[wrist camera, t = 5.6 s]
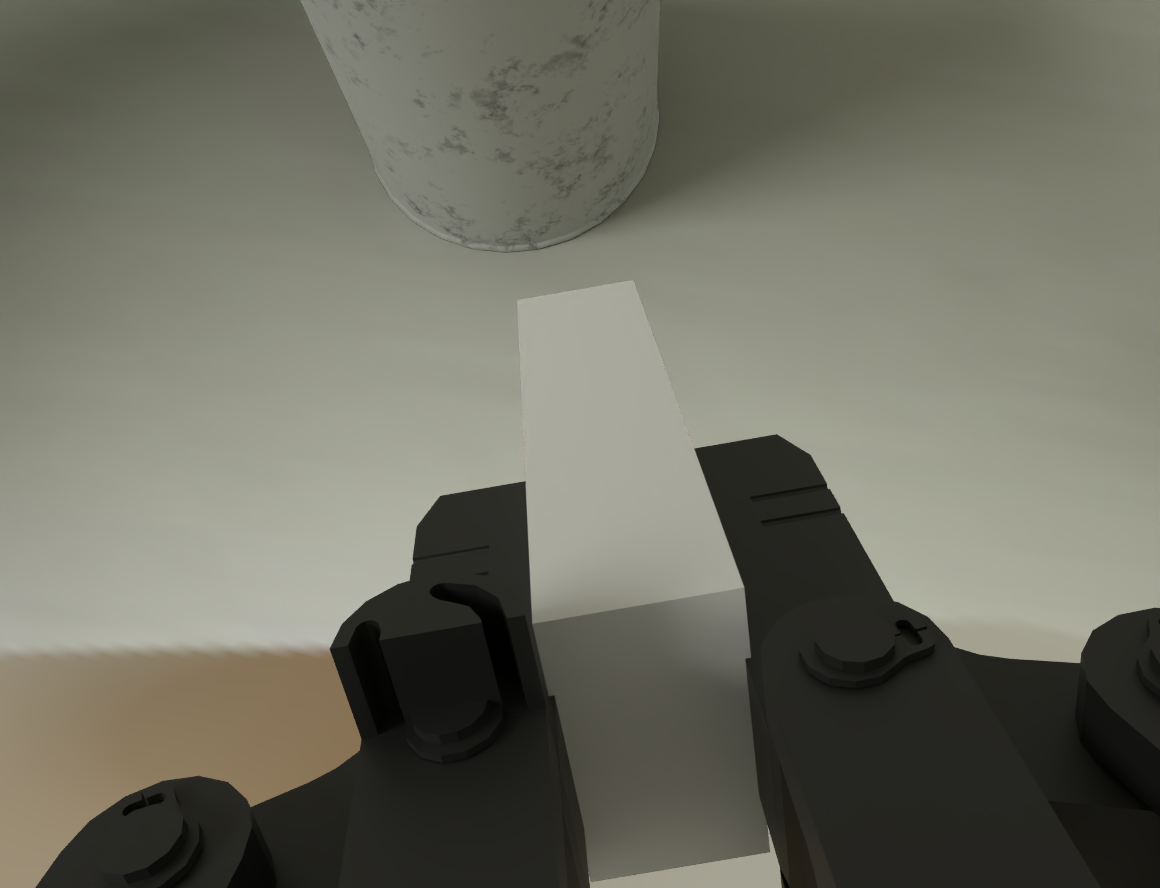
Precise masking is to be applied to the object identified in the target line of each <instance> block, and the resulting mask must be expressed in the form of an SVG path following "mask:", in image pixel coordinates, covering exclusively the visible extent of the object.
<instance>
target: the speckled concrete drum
mask: <svg viewBox="0 0 1160 888" xmlns="http://www.w3.org/2000/svg"><path fill="white" fill-rule="evenodd" d="M300 1H301V3H302V5H303V7H304V9H305V12H306V14H307V16H308V18H309V20H310V23H311V25H312V27H313V29H314V31H315V33H316V36H317V38H318V40H319V42H320V44H321V47H322V49H323V51H324V53H325V55H326V58H327V60H328V62H329V64H330V66H331V69H332V71H333V73H334V75H335V77H336V79H337V82H338V84H339V86H340V88H341V90H342V93H343V95H344V97H345V99H346V101H347V104H348V106H349V108H350V110H351V112H352V115H353V117H354V119H355V121H356V123H357V125H358V128H359V130H360V132H361V134H362V136H363V139H364V141H365V143H366V145H367V147H368V150H369V152H370V154H371V158H372V161H373V165H374V168H375V172H376V174H377V176H378V178H379V179H380V181H381V183H382V184H383V186H384V188H385V190H386V191H387V193H388V195H389V196H390V198H391V200H392V201H393V202H394V203H395V204H396V205H397V206H398V207H399V208H400V209H401V210H402V211H403V212H404V213H405V214H406V215H407V216H408V217H409V218H410V219H411V220H412V221H413V222H415V223H416V224H418V225H420V226H421V227H423V228H424V229H426V230H428V231H429V232H431V233H433V234H434V235H436V236H438V237H439V238H441V239H444V240H447V241H450V242H453V243H456V244H459V245H462V246H465V247H468V248H471V249H478V250H487V251H496V252H515V251H525V250H536V249H541V248H544V247H547V246H551V245H554V244H557V243H561V242H564V241H567V240H570V239H572V238H574V237H576V236H578V235H580V234H581V233H583V232H585V231H587V230H589V229H590V228H592V227H594V226H596V225H598V224H600V223H601V222H602V221H603V220H604V219H605V218H607V217H608V216H609V215H610V214H611V213H612V212H613V211H615V210H616V209H617V208H618V207H619V206H620V205H622V204H623V203H624V202H625V201H626V199H627V198H628V197H629V195H630V194H631V192H632V191H633V190H634V188H635V187H636V186H637V184H638V183H639V182H640V180H641V179H642V177H643V176H644V174H645V171H646V169H647V166H648V164H649V162H650V159H651V157H652V154H653V152H654V149H655V145H656V138H657V131H658V124H659V109H658V100H657V85H658V57H659V29H660V1H661V0H300Z"/></svg>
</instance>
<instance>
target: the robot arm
mask: <svg viewBox="0 0 1160 888" xmlns="http://www.w3.org/2000/svg"><path fill="white" fill-rule="evenodd" d="M517 312H518V333H519V354H520V375H521V396H522V417H523V438H524V459H525V480H526V481H524V482H519V483H513V484H507V485H501V486H495V487H490V488H484V489H478V490H472V491H466V492H461V493H455V494H449V495H443V496H440V497H439V498H438V500H437V501H436V502H435V504H434V505H433V506H432V507H431V509H430V510H429V511H428V513H427V514H426V515H425V517H424V518H423V519H422V521H421V522H420V523H419V524H418V526H417V530H416V537H415V545H414V553H413V563H414V564H413V565H412V568H411V575H410V581H407V582H404V583H400V584H397V585H395V586H394V587H392V588H390V589H388V590H386V591H384V592H383V593H381V594H379V595H377V596H375V597H373V598H372V599H370V600H368V601H366V602H365V603H364V604H363V605H362V606H361V607H360V608H359V609H358V610H356V611H355V612H354V613H353V614H352V615H351V616H350V617H349V618H348V619H347V620H346V621H345V622H344V623H343V624H342V625H341V627H340V629H339V631H338V633H337V635H336V637H335V639H334V641H333V643H332V645H331V647H330V651H331V654H332V657H333V659H334V662H335V665H336V667H337V670H338V674H339V676H340V679H341V682H342V685H343V688H344V691H345V693H346V696H347V699H348V702H349V705H350V707H351V710H352V713H353V716H354V719H355V721H356V724H357V727H358V730H359V733H360V736H361V739H362V740H361V747H360V751H359V752H358V753H356V754H355V755H354V756H352V757H351V758H350V759H348V760H347V761H346V762H344V763H343V764H341V765H340V766H339V767H337V768H336V769H334V770H332V771H330V772H328V773H326V774H324V775H322V776H321V777H319V778H317V779H315V780H313V781H311V782H309V783H307V784H304V785H302V786H300V787H297V788H295V789H293V790H290V791H288V792H286V793H283V794H281V795H279V796H276V797H274V798H272V799H269V800H267V801H265V802H262V803H260V804H257V805H255V806H253V807H250V805H249V803H248V801H247V799H246V798H245V797H243V795H241V794H240V793H239V792H238V791H237V790H236V789H235V788H234V787H233V786H232V785H230V784H229V783H228V782H225V781H220V780H215V779H211V778H206V777H201V776H195V777H188V778H181V779H174V780H167V781H162V782H160V783H157V784H155V785H152V786H150V787H147V788H145V789H143V790H140V791H138V792H135V793H133V794H130V795H128V796H126V797H124V798H122V799H121V800H120V801H118V802H117V803H115V804H114V805H112V806H111V807H109V808H108V809H107V810H105V811H104V812H102V813H101V814H99V815H98V816H96V817H95V818H93V819H92V820H91V821H89V822H88V824H87V825H86V826H85V827H84V828H83V829H82V830H81V831H80V832H79V833H78V834H77V835H76V836H75V837H74V839H73V840H72V841H71V842H70V843H69V844H68V845H67V846H66V847H65V848H64V849H63V851H61V853H60V854H59V856H58V857H57V858H56V860H55V861H54V862H53V864H52V866H51V867H50V868H49V870H48V871H47V872H46V874H45V875H44V877H43V878H42V879H41V881H40V882H39V884H38V885H37V886H36V888H590V884H589V876H590V880H591V882H594V881H600V880H606V879H612V878H618V877H624V876H630V875H636V874H642V873H648V872H654V871H660V870H665V869H672V868H678V867H683V866H690V865H696V864H702V863H708V862H713V861H720V860H725V859H731V858H737V857H743V856H749V855H755V854H761V853H767V852H770V848H769V837H768V828H769V831H770V835H771V838H772V842H773V845H774V848H775V851H776V855H777V858H778V862H779V865H780V872H781V884H782V888H1160V608H1151V609H1146V610H1141V611H1136V612H1131V613H1126V614H1121V615H1117V616H1116V617H1114V618H1113V619H1111V620H1109V621H1108V622H1106V623H1104V624H1103V625H1101V626H1100V627H1098V628H1096V629H1095V630H1093V631H1092V633H1091V635H1090V637H1089V639H1088V641H1087V643H1086V645H1085V647H1084V649H1083V651H1082V653H1081V662H1080V663H1066V662H1050V661H1035V660H1019V659H1007V658H1000V657H993V656H985V655H979V654H975V653H972V652H969V651H965V650H962V649H959V648H955V647H954V646H953V645H952V643H951V641H950V640H949V638H948V637H947V636H946V635H945V634H944V633H943V632H942V631H941V630H940V629H939V628H938V627H937V626H936V625H935V624H934V623H933V622H932V621H931V620H930V619H929V618H928V617H927V616H925V615H923V614H921V613H919V612H917V611H915V610H913V609H911V608H909V607H907V606H905V605H903V604H901V603H899V602H894V601H893V599H892V597H891V596H890V594H889V592H888V590H887V589H886V587H885V585H884V583H883V582H882V580H881V578H880V576H879V575H878V573H877V571H876V569H875V568H874V566H873V564H872V562H871V560H870V559H869V557H868V555H867V553H866V552H865V550H864V548H863V546H862V545H861V543H860V541H859V539H858V538H857V536H856V534H855V532H854V531H853V529H852V527H851V525H850V524H849V522H848V520H847V518H846V517H845V515H844V513H843V514H841V510H840V506H839V504H838V502H837V501H836V499H835V497H834V495H833V494H832V492H831V490H830V489H828V488H827V483H826V481H825V480H824V478H823V476H822V474H821V473H820V471H819V469H818V467H817V466H816V464H815V462H814V460H813V459H812V457H811V455H810V454H808V453H806V452H805V451H803V450H801V449H800V448H798V447H797V446H795V445H793V444H792V443H790V442H788V441H787V440H785V439H784V438H782V437H780V436H779V435H777V434H776V435H771V436H765V437H759V438H753V439H747V440H742V441H736V442H730V443H724V444H718V445H713V446H707V447H701V448H695V449H694V447H693V444H692V441H691V439H690V436H689V433H688V430H687V427H686V425H685V422H684V419H683V416H682V414H681V411H680V408H679V405H678V403H677V400H676V397H675V394H674V391H673V389H672V386H671V383H670V380H669V378H668V375H667V372H666V369H665V367H664V364H663V361H662V358H661V355H660V353H659V350H658V347H657V344H656V342H655V339H654V336H653V333H652V331H651V328H650V325H649V322H648V319H647V317H646V314H645V311H644V308H643V306H642V303H641V300H640V297H639V295H638V292H637V289H636V286H635V283H634V281H633V280H630V281H624V282H618V283H612V284H607V285H601V286H595V287H589V288H584V289H578V290H572V291H566V292H561V293H555V294H549V295H544V296H538V297H532V298H526V299H521V300H517ZM767 824H768V827H767ZM588 872H589V874H588Z"/></svg>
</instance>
